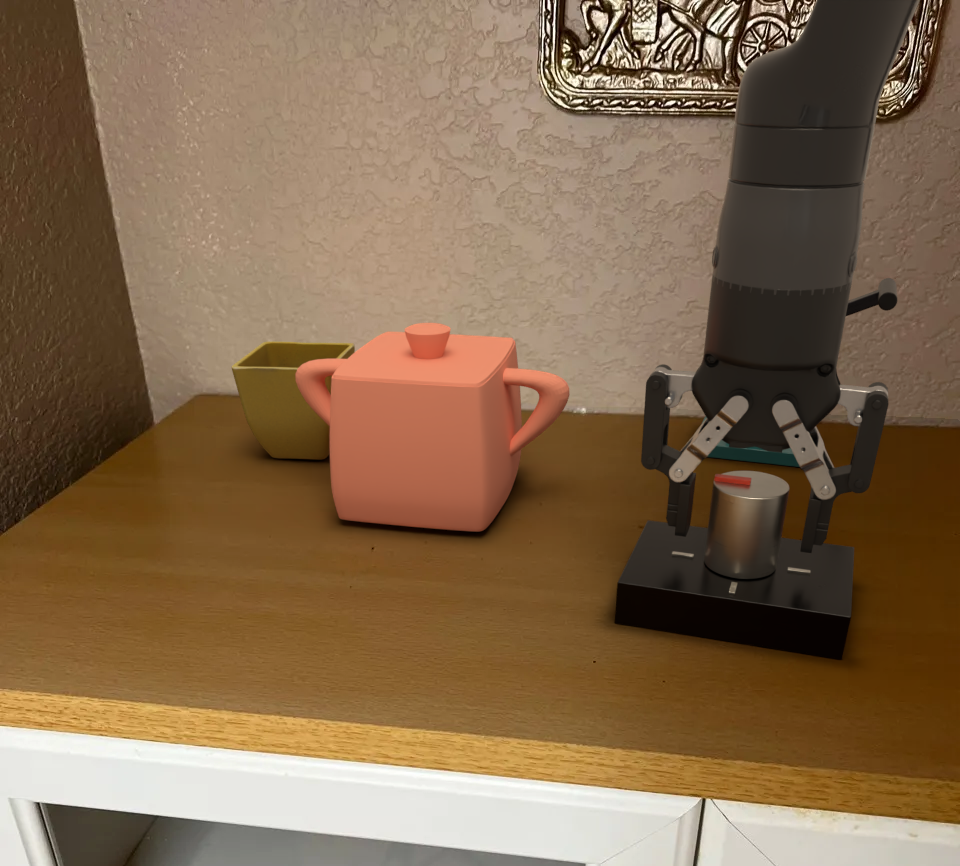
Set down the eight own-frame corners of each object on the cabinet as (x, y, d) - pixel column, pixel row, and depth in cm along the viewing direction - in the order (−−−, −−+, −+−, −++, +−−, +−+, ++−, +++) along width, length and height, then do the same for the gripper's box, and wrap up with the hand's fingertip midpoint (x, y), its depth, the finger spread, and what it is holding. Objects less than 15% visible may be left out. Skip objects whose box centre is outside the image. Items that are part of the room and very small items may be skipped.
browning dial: (779, 553, 65) (793, 470, 62) (773, 584, 61) (787, 497, 58) (709, 543, 66) (719, 462, 63) (698, 573, 62) (709, 488, 59)
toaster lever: (899, 297, 83) (892, 269, 83) (901, 312, 79) (893, 283, 78) (759, 347, 89) (751, 322, 88) (752, 364, 84) (743, 338, 83)
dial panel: (846, 586, 67) (854, 544, 66) (841, 659, 59) (851, 614, 58) (644, 557, 71) (647, 517, 70) (614, 623, 63) (617, 579, 62)
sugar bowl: (549, 548, 73) (556, 360, 66) (273, 522, 77) (250, 343, 70) (584, 455, 89) (593, 297, 82) (355, 438, 94) (344, 286, 86)
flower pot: (242, 466, 88) (228, 365, 83) (275, 433, 95) (264, 339, 90) (337, 471, 86) (328, 369, 82) (363, 437, 94) (356, 342, 89)
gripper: (918, 265, 55) (861, 531, 64) (665, 251, 59) (643, 503, 68) (923, 291, 49) (859, 582, 58) (640, 275, 53) (620, 548, 62)
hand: (742, 539), depth 63 cm, fingers open, 7 cm apart
